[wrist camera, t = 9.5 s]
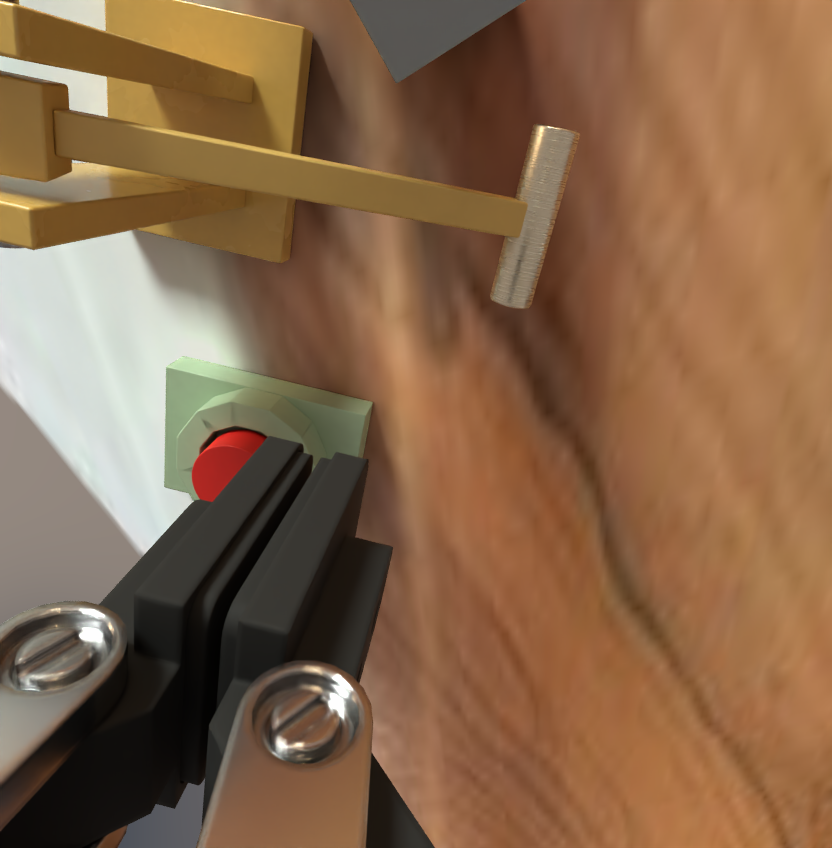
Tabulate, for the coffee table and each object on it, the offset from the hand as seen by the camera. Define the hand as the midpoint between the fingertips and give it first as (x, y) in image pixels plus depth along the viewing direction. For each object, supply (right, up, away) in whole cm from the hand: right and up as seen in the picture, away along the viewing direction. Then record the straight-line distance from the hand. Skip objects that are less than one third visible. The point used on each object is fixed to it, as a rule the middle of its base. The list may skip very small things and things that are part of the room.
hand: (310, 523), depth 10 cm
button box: (-6, +1, +21) cm, 22 cm away
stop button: (-6, 0, +19) cm, 20 cm away
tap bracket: (-7, +14, +16) cm, 22 cm away
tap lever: (-2, +9, +8) cm, 13 cm away
